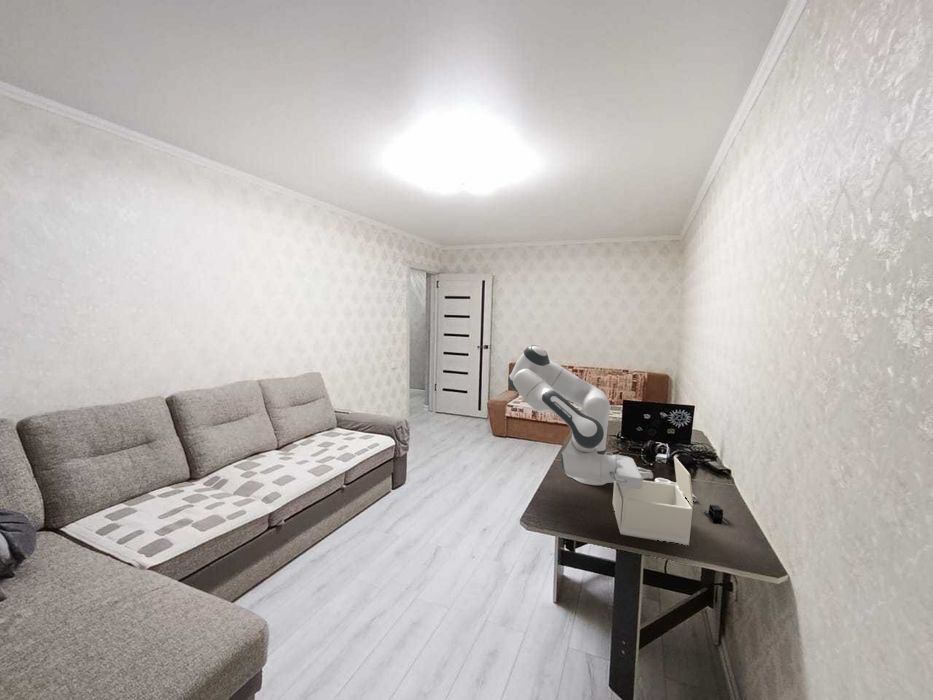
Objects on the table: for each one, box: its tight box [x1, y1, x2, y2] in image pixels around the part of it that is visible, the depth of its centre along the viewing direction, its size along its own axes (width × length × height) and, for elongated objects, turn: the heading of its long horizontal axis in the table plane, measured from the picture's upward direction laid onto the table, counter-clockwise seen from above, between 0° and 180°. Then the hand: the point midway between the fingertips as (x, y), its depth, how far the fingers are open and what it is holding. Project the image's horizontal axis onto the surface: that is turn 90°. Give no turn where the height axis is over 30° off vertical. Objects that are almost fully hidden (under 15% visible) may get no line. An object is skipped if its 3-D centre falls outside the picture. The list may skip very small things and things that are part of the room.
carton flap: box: [673, 456, 694, 507], centre depth 130 cm, size 17×10×1 cm
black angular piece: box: [703, 504, 730, 526], centre depth 141 cm, size 12×7×5 cm, turn 171°
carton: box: [612, 479, 693, 547], centre depth 133 cm, size 19×21×12 cm
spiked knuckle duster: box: [654, 477, 698, 503], centre depth 160 cm, size 3×18×15 cm
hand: (652, 474), depth 132 cm, fingers closed
